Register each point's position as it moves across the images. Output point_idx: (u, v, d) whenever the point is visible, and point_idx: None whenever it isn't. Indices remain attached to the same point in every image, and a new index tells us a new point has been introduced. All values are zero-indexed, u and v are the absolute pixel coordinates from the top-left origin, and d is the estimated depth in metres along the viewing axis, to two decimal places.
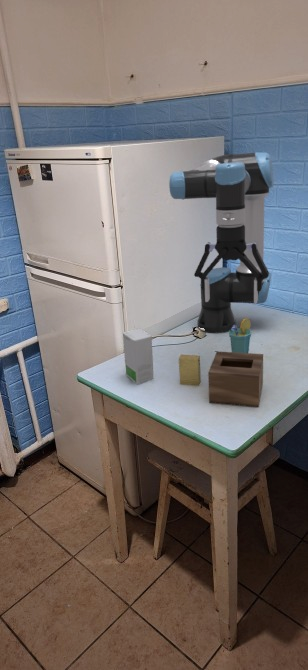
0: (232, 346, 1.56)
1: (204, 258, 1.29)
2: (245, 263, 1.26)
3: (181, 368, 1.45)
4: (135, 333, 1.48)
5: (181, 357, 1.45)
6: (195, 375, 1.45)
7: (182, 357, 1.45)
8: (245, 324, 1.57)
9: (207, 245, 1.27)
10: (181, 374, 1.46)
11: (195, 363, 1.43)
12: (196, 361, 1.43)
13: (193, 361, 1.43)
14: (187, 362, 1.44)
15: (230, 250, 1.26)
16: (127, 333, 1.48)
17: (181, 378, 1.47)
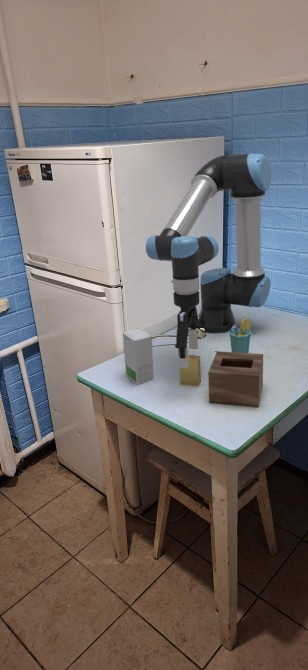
0: (232, 346, 1.56)
1: None
2: None
3: (181, 368, 1.45)
4: (135, 333, 1.48)
5: None
6: (195, 375, 1.45)
7: None
8: (245, 324, 1.57)
9: None
10: (181, 374, 1.46)
11: (195, 363, 1.43)
12: (196, 361, 1.43)
13: (193, 361, 1.43)
14: None
15: None
16: (127, 333, 1.48)
17: (181, 378, 1.47)
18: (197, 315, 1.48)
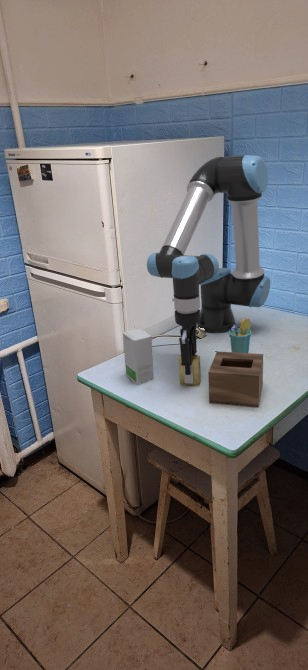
0: (232, 346, 1.56)
1: None
2: None
3: (181, 368, 1.45)
4: (135, 333, 1.48)
5: None
6: (195, 375, 1.45)
7: None
8: (245, 324, 1.57)
9: None
10: (181, 374, 1.46)
11: (195, 363, 1.43)
12: (196, 361, 1.43)
13: (193, 361, 1.43)
14: None
15: None
16: (127, 333, 1.48)
17: (181, 378, 1.46)
18: None
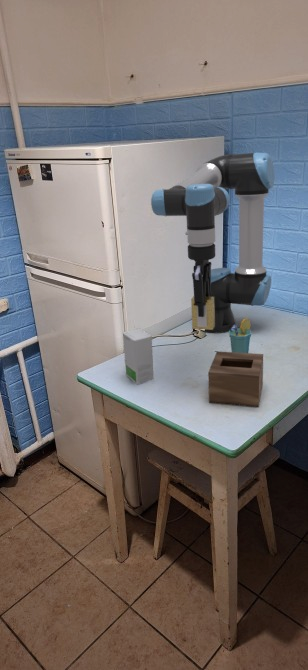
0: (232, 346, 1.56)
1: None
2: None
3: (193, 310, 1.35)
4: (135, 333, 1.48)
5: None
6: (209, 318, 1.34)
7: None
8: (245, 324, 1.57)
9: None
10: (193, 317, 1.35)
11: (209, 304, 1.32)
12: (210, 302, 1.32)
13: (207, 302, 1.32)
14: None
15: None
16: (127, 333, 1.48)
17: (193, 321, 1.36)
18: (210, 283, 1.37)
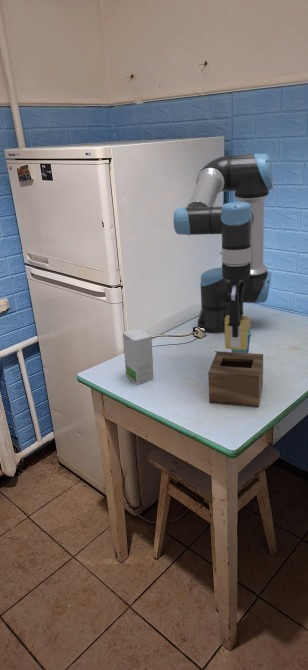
0: None
1: None
2: None
3: (226, 330, 1.31)
4: (135, 333, 1.48)
5: (227, 318, 1.31)
6: (243, 338, 1.31)
7: (228, 318, 1.31)
8: None
9: None
10: (227, 337, 1.32)
11: (243, 323, 1.29)
12: (244, 322, 1.29)
13: (241, 322, 1.29)
14: None
15: None
16: (127, 333, 1.48)
17: (226, 342, 1.33)
18: (243, 302, 1.34)
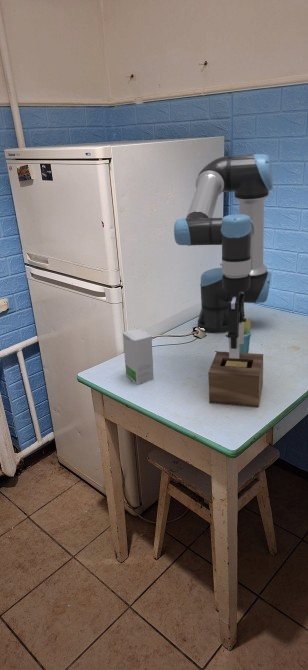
0: None
1: None
2: None
3: None
4: (135, 333, 1.48)
5: (227, 364, 1.36)
6: None
7: (229, 364, 1.36)
8: (245, 324, 1.57)
9: None
10: None
11: None
12: None
13: None
14: None
15: None
16: (127, 333, 1.48)
17: None
18: (243, 306, 1.37)
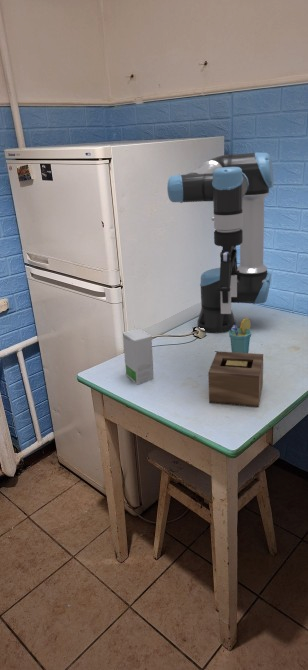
0: (232, 346, 1.56)
1: None
2: None
3: None
4: (135, 333, 1.48)
5: (228, 363, 1.36)
6: None
7: (229, 363, 1.36)
8: (245, 324, 1.57)
9: None
10: None
11: None
12: None
13: None
14: None
15: None
16: (127, 333, 1.48)
17: None
18: (236, 259, 1.36)
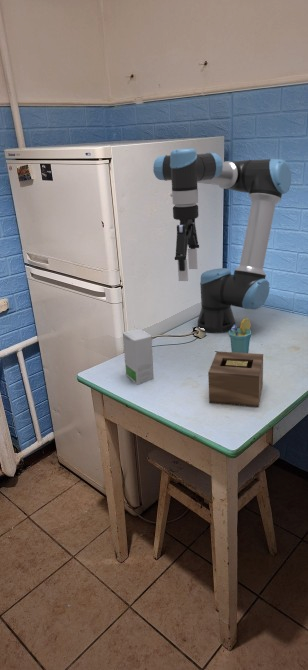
0: (232, 346, 1.56)
1: None
2: None
3: None
4: (135, 333, 1.48)
5: (228, 363, 1.36)
6: None
7: (229, 363, 1.36)
8: (245, 324, 1.57)
9: None
10: None
11: None
12: None
13: None
14: None
15: None
16: (127, 333, 1.48)
17: None
18: (196, 234, 1.50)
